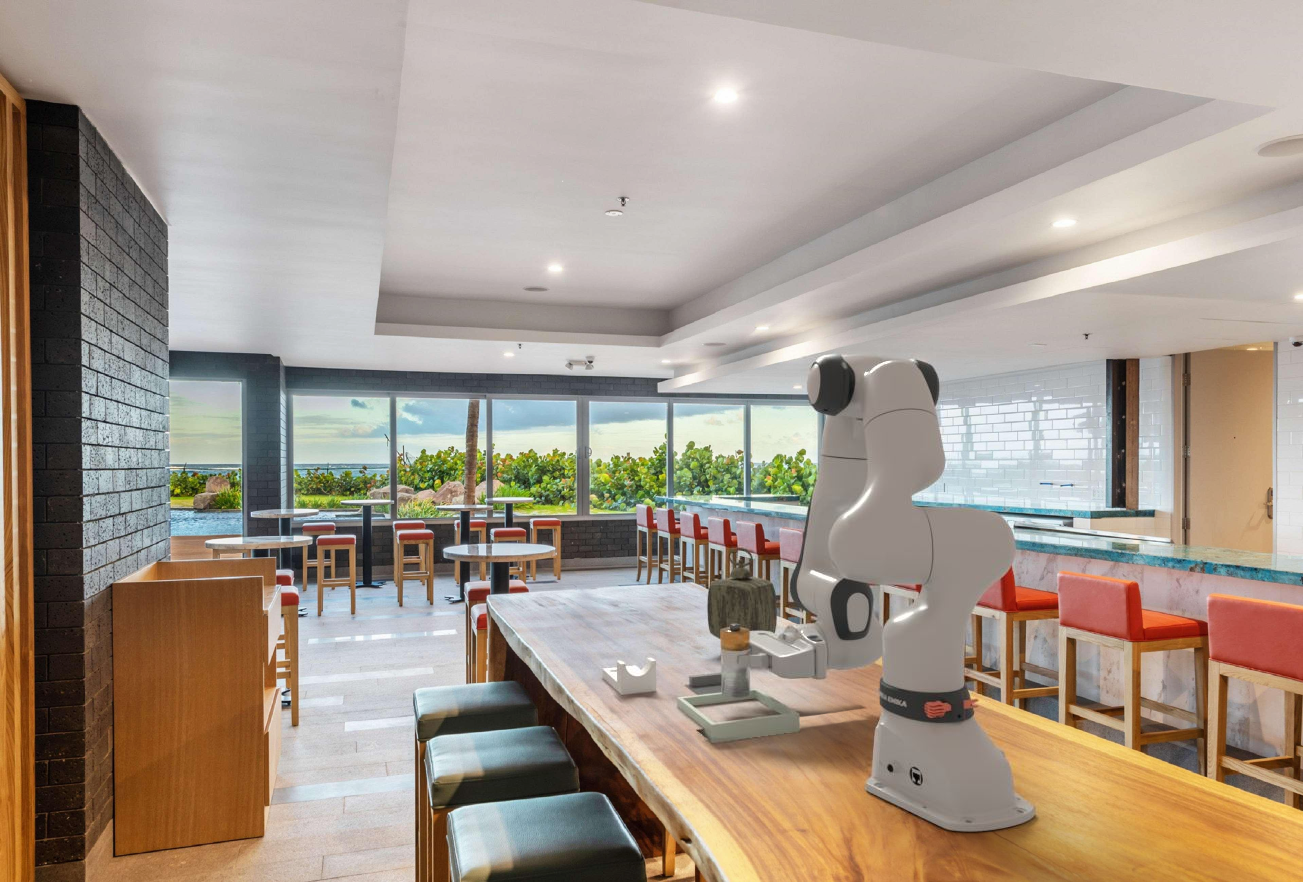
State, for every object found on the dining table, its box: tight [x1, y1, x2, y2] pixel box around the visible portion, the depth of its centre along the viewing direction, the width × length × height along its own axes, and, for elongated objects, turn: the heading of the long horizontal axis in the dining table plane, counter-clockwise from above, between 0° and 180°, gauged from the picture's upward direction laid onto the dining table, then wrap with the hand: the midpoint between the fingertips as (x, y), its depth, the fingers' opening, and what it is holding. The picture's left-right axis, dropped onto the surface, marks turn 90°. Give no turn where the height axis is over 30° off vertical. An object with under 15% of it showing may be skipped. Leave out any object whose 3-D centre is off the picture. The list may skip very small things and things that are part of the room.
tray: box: [676, 687, 801, 744], centre depth 142 cm, size 16×16×3 cm
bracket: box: [602, 657, 657, 696], centre depth 162 cm, size 13×7×8 cm, turn 19°
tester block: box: [684, 672, 721, 695], centre depth 157 cm, size 10×10×3 cm
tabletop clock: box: [706, 547, 778, 640], centre depth 190 cm, size 14×9×25 cm, turn 47°
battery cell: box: [720, 623, 751, 698], centre depth 143 cm, size 5×5×12 cm
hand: (730, 656), depth 142 cm, fingers closed on battery cell, 5 cm apart
